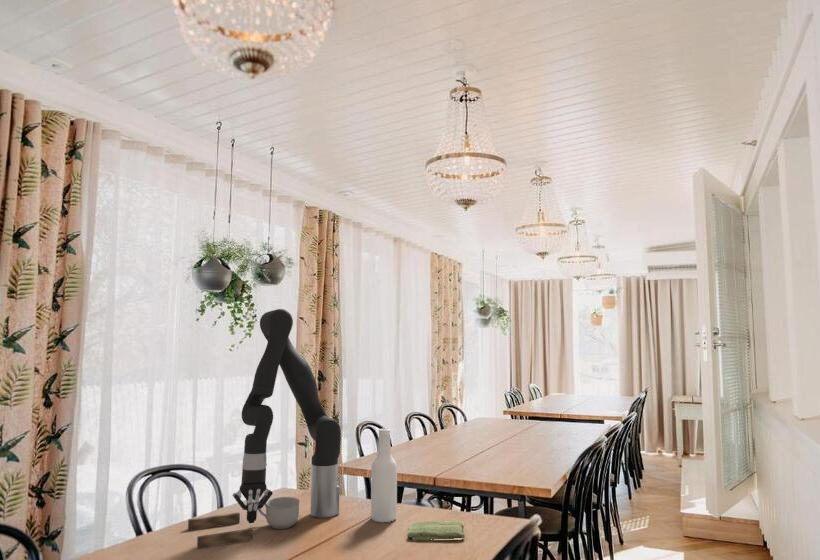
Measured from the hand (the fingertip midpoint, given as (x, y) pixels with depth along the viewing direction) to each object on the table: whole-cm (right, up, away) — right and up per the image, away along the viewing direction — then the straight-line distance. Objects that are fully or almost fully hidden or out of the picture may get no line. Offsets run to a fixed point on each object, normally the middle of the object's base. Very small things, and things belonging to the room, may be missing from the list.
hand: (251, 522), depth 184 cm
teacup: (+8, -3, +4) cm, 9 cm away
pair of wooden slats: (-9, -2, -5) cm, 10 cm away
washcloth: (+59, -3, -4) cm, 60 cm away
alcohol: (+42, -4, +11) cm, 44 cm away
